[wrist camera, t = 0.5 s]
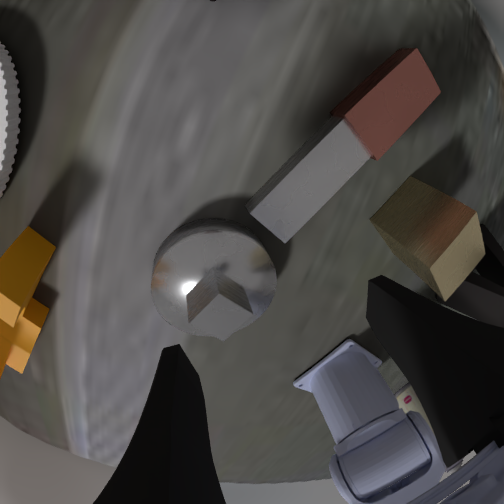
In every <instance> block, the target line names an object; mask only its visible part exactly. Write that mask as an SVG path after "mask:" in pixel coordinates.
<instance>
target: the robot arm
mask: <svg viewBox="0 0 504 504" xmlns="http://www.w3.org/2000/svg"><path fill="white" fill-rule="evenodd" d="M366 319H367V320H368V322H369V324H370V326H371V328H372V330H373V331H374V333H375V335H376V337H377V338H378V340H379V341H380V343H381V344H382V345H383V347H384V348H385V349H386V351H387V352H388V353H389V355H390V356H391V357H392V359H393V360H394V362H395V363H396V364H397V366H398V367H399V368H400V370H401V371H402V372H403V374H404V375H405V377H406V378H407V380H408V381H409V383H410V384H411V386H412V388H413V390H414V391H415V393H416V395H417V397H418V399H419V401H420V403H421V405H422V407H423V409H424V411H425V413H426V415H427V417H428V420H429V422H430V424H431V427H432V429H433V432H434V433H433V432H432V430H431V428H430V427H429V425H428V424H427V422H426V421H425V419H424V418H423V417H422V415H421V414H420V413H419V412H415V411H411V410H410V411H409V412H407V413H406V414H405V412H404V411H403V409H402V408H400V409H399V403H398V401H397V399H396V397H395V396H394V394H393V392H392V391H391V389H390V388H389V386H388V385H387V383H386V381H385V380H384V378H383V377H382V375H381V374H380V372H379V371H378V369H377V368H378V367H379V366H380V365H381V364H382V361H381V360H380V359H379V358H377V357H376V356H374V355H373V354H372V353H370V352H369V351H367V350H366V349H364V348H363V347H361V346H360V345H359V344H357V343H356V342H354V341H353V340H351V339H348V340H346V341H345V342H343V343H342V344H341V345H340V346H339V347H337V348H336V349H335V350H334V351H333V352H331V353H330V354H329V355H328V356H326V357H325V358H324V359H323V360H321V361H320V362H319V363H318V364H316V365H315V366H314V367H312V368H311V369H310V370H309V371H307V372H306V373H305V374H303V375H302V376H301V377H299V378H298V379H297V380H295V381H294V382H293V385H294V386H295V387H297V388H300V389H303V390H306V391H309V392H312V393H313V394H314V397H315V399H316V401H317V403H318V405H319V407H320V410H321V412H322V414H323V416H324V418H325V421H326V423H327V425H328V427H329V429H330V431H331V434H332V436H333V438H334V440H335V442H336V446H334V450H335V452H336V454H334V455H332V457H331V460H330V463H329V469H330V473H331V476H332V479H333V481H334V483H335V486H336V487H337V489H338V491H339V493H340V494H341V496H342V497H343V498H344V499H345V500H346V501H347V502H348V504H437V503H438V502H440V501H441V500H443V499H444V498H446V497H447V496H448V495H449V494H451V493H452V494H451V495H450V496H448V497H447V498H446V499H445V500H444V501H442V502H441V503H440V504H504V328H502V327H498V326H494V325H491V324H487V323H484V322H481V321H478V320H475V319H472V318H469V317H467V316H464V315H461V314H459V313H457V312H454V311H452V310H450V309H448V308H445V307H443V306H441V305H439V304H437V303H435V302H433V301H431V300H429V299H427V298H425V297H423V296H421V295H419V294H417V293H415V292H413V291H411V290H410V289H408V288H406V287H404V286H402V285H400V284H398V283H396V282H395V281H393V280H391V279H389V278H387V277H385V276H383V275H380V276H378V277H376V278H373V279H371V280H368V298H367V312H366ZM434 434H435V435H434ZM472 450H474V451H475V452H476V454H477V455H475V456H474V457H473V458H472V459H471V460H469V461H468V462H467V463H466V464H464V465H463V466H462V467H460V468H459V469H458V470H457V471H455V472H454V473H452V474H451V475H450V476H448V477H447V478H446V479H444V480H443V481H441V482H440V483H439V481H440V479H441V477H442V475H443V473H444V471H445V469H446V467H447V468H449V467H450V466H452V465H453V464H455V463H456V462H458V461H459V460H461V459H462V458H463V457H465V456H466V455H467V454H469V453H470V452H471V451H472ZM415 471H416V472H415ZM410 474H411V475H410ZM405 477H406V478H405ZM400 480H401V481H400ZM468 480H470V483H469V484H467V485H465V486H464V487H462V488H460V489H458V488H459V487H461V486H462V485H463V484H465V483H466V482H467V481H468ZM398 481H399V482H398ZM391 485H392V486H391ZM389 486H390V487H389ZM387 487H388V488H387ZM457 489H458V490H457ZM455 490H457V491H455ZM454 491H455V492H454ZM453 492H454V493H453ZM93 504H226V502H225V499H224V497H223V494H222V490H221V487H220V484H219V481H218V477H217V474H216V470H215V466H214V463H213V458H212V453H211V447H210V439H209V432H208V424H207V415H206V407H205V399H204V395H203V391H202V386H201V382H200V378H199V375H198V373H197V372H196V370H195V369H194V367H193V365H192V364H191V362H190V361H189V359H188V357H187V356H186V354H185V353H184V351H183V349H182V348H181V346H180V344H177V345H174V346H170V347H166V348H163V350H162V353H161V356H160V360H159V363H158V367H157V370H156V373H155V377H154V380H153V383H152V386H151V389H150V392H149V395H148V398H147V401H146V404H145V407H144V410H143V412H142V415H141V418H140V420H139V423H138V425H137V428H136V430H135V433H134V435H133V437H132V439H131V442H130V444H129V446H128V448H127V450H126V452H125V454H124V456H123V458H122V459H121V461H120V463H119V465H118V467H117V469H116V470H115V472H114V474H113V475H112V477H111V479H110V480H109V481H108V483H107V485H106V486H105V488H104V489H103V491H102V492H101V494H100V495H99V496H98V498H97V499H96V500H95V501H94V503H93Z"/></svg>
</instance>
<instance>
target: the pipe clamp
mask: <svg viewBox="0 0 504 504" xmlns="http://www.w3.org/2000/svg"><path fill="white" fill-rule="evenodd" d="M55 249H56V247H55V246H54V245H53V244H51V243H50V242H49V241H47V240H46V239H45V238H43V237H42V236H41V235H39V234H38V233H37V232H35V231H34V230H33V229H32V228H30V227H29V226H28V227H27V228H26V229H25V230H24V231H23V232H22V233H21V235H20V236H19V237H18V238H17V239H16V240H15V241H14V242H13V244H12V245H11V246H10V247H9V248H8V249H7V251H6V252H5V253H4V254H3V255H2V257H1V258H0V379H1V376H2V373H3V370H4V367H5V365H6V364H7V365H9V366H10V367H12V368H13V369H15V370H17V371H18V372H20V373H23V371H24V368H25V366H26V363H27V361H28V358H29V356H30V354H31V351H32V349H33V346H34V344H35V342H36V339H37V337H38V335H39V333H40V331H41V328H42V326H43V323H44V321H45V319H46V316H47V314H48V312H49V308H47V307H46V306H44V305H43V304H41V303H40V302H38V301H37V300H35V299H34V298H32V296H33V294H34V292H35V289H36V287H37V285H38V283H39V281H40V279H41V276H42V274H43V272H44V270H45V268H46V266H47V264H48V262H49V260H50V258H51V256H52V254H53V252H54V251H55Z"/></svg>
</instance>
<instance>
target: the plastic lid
mask: <svg viewBox="0 0 504 504" xmlns="http://www.w3.org/2000/svg"><path fill="white" fill-rule="evenodd" d="M4 48H5V46H4V45H2V44H1V41H0V198H1V197H2V195H3V193H2V191H4V190H5V189H6V185H5V184H6V183H7V182H8V181H9V179H10V178H9V174H10V173H11V172H12V168H11V166H12V164H14V162H15V159H14V154H16V153H17V149H16V144H18V141H19V139H17V134H19V132H20V129H19V128H18V124H19V123H20V118H19V113H20V112H21V108H19V103H20V98H18V94H19V93H20V89H19V88H17V84H18V83H19V82H18V79H16V77H15V76H16V75H17V72H16V71H14V70H13V68H14V67H15V65H14V63H11V60H12V57H11V56H8V53H9V52H8V50H4Z"/></svg>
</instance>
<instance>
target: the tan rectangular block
mask: <svg viewBox="0 0 504 504" xmlns="http://www.w3.org/2000/svg"><path fill="white" fill-rule="evenodd" d="M370 221H371V222H372V224H373V225H374V226H375V228H376V229H377V231H378V232H379V233H380V235H381V236H382V238H383V239H384V240H385V242H386V243H387V245H388V246H389V248H390V249H391V251H392V252H393V254H394V255H396V256H397V257H398V258H399V259H400V260H401V261H402V262H403V263H404V264H406V265H407V266H408V267H409V268H410V269H411V270H412V271H413V272H414V273H415V274H417V275H418V276H419V277H420V278H421V279H422V280H423V281H424V282H425V283H426V284H427V285H428V286H429V287H430V288H431V289H432V290H433V291H435V292H436V293H437V294H438V295H439V296H440V297H441V298H442V299H443V300H444V301H446V300H447V299H448V298H449V297H450V296H451V295H452V294H453V292H454V291H455V290H456V289H457V288H458V287H459V286H460V285H461V283H462V282H463V281H464V280H465V279H466V277H467V276H468V275H469V274H470V273H471V271H472V270H473V269H474V268H475V266H476V265H477V264H478V263H479V261H480V260H481V259H482V258H483V256H484V255H485V248H484V243H483V238H482V233H481V228H480V224H479V220H478V215H477V212H476V211H475V210H473V209H471V208H469V207H468V206H466V205H464V204H463V203H461V202H459V201H457V200H456V199H454V198H452V197H450V196H448V195H446V194H445V193H443V192H441V191H439V190H437V189H435V188H433V187H431V186H429V185H427V184H425V183H423V182H421V181H419V180H417V179H415V178H413V177H411V176H410V177H409V178H408V179H407V180H406V181H405V182H404V183H403V184H402V186H401V187H400V188H399V189H398V190H397V191H396V192H395V193H394V194H393V195H392V196H391V197H390V199H389V200H388V201H387V202H386V203H385V204H384V205H383V206H382V207H381V208H380V209H379V210H378V211H377V212H376V213H375V214H374V215H373V217H372V218H371V219H370Z"/></svg>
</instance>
